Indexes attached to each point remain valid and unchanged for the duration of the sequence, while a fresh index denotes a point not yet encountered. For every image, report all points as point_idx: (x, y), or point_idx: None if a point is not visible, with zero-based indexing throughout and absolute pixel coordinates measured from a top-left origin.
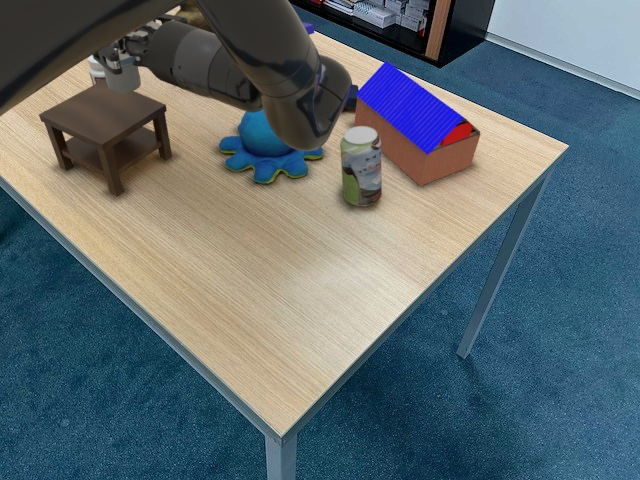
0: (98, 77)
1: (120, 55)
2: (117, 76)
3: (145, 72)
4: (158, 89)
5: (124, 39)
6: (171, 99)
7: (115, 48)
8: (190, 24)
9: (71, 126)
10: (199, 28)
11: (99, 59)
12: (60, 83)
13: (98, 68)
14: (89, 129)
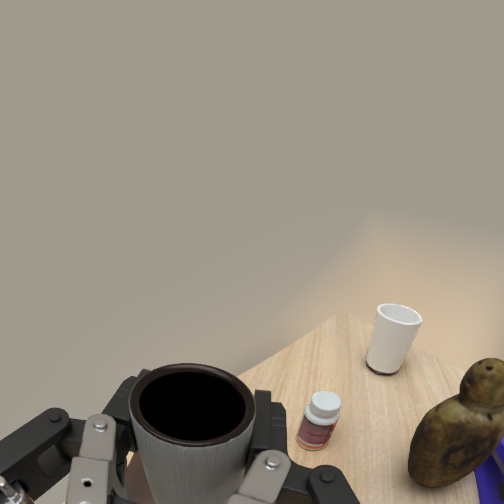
0: (307, 418)
1: (4, 502)
2: (154, 501)
3: (378, 428)
4: (368, 460)
5: (173, 484)
6: (366, 485)
7: (2, 480)
8: (455, 426)
9: (136, 463)
10: (462, 435)
11: (41, 458)
12: (297, 390)
13: (313, 410)
14: (137, 488)
